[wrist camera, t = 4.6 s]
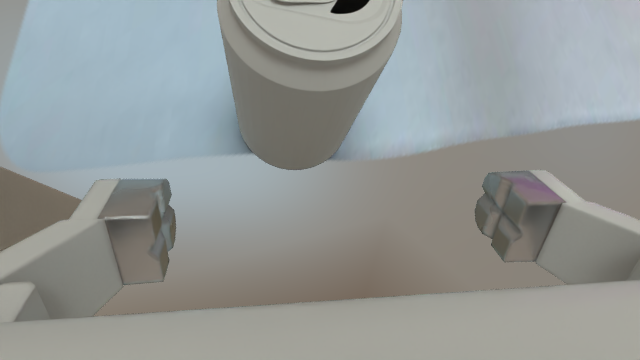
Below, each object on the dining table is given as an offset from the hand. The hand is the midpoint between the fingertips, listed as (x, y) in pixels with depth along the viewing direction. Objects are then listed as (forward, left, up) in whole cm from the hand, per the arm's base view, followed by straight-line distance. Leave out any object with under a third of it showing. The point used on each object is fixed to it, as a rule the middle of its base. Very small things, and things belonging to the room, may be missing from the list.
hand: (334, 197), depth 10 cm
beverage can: (+3, +6, -13) cm, 14 cm away
